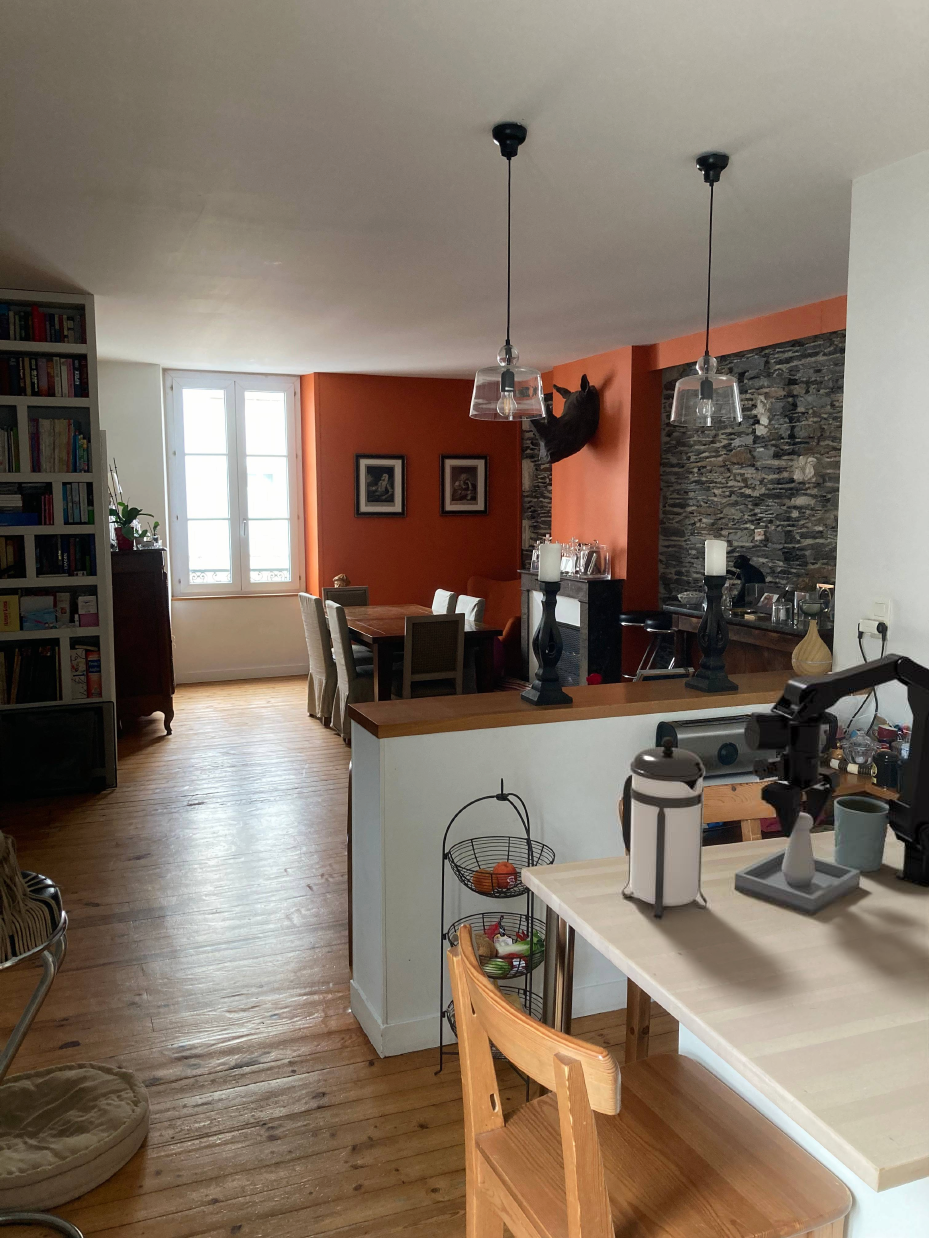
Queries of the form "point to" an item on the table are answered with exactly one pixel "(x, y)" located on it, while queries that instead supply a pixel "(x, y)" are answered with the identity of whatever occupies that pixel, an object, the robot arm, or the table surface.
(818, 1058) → the table surface
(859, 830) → the teal cup
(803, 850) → the salt shaker
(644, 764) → the coffee press
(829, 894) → the tray
